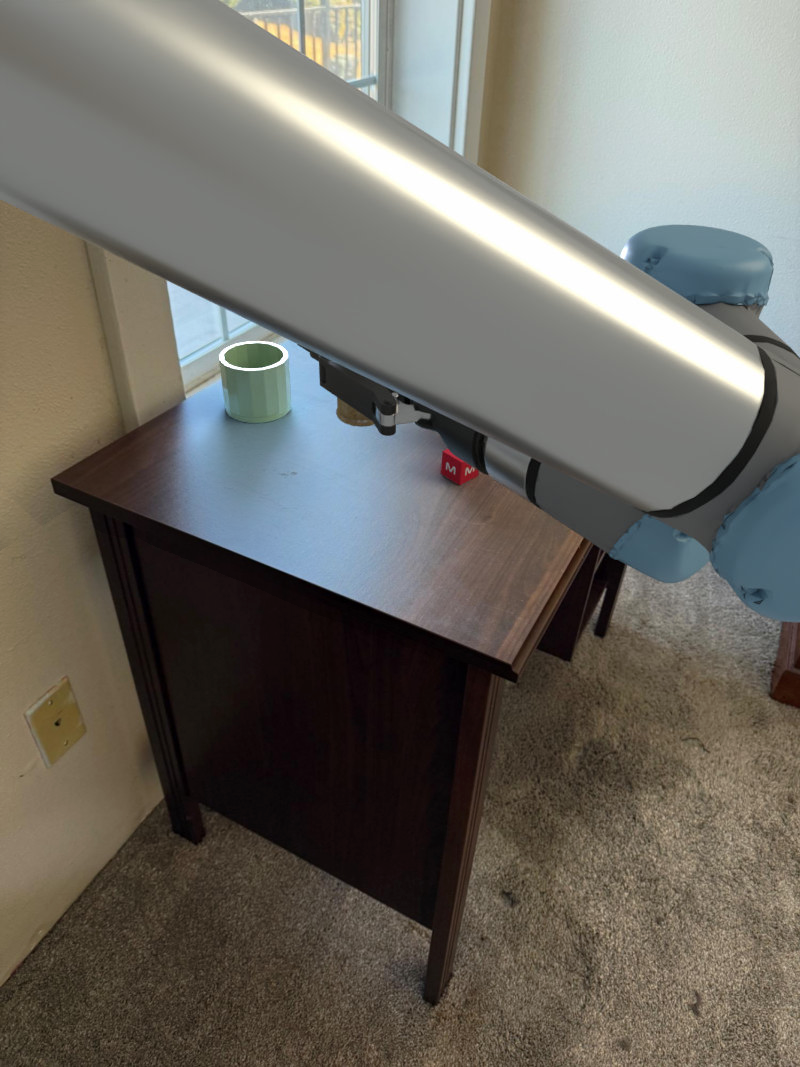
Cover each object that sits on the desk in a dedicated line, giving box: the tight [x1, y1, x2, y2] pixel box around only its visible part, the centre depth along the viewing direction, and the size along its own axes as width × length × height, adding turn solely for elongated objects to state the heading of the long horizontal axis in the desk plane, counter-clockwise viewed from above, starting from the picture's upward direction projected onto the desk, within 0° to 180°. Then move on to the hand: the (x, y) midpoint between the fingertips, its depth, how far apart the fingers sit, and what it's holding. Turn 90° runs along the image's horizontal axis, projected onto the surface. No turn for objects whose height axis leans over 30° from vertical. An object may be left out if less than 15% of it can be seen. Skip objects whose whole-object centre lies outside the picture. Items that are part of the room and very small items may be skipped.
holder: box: [218, 340, 292, 424], centre depth 92 cm, size 8×8×7 cm
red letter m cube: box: [440, 448, 480, 486], centre depth 82 cm, size 3×3×3 cm
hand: (324, 322), depth 66 cm, fingers closed on sprinkles bottle, 4 cm apart
